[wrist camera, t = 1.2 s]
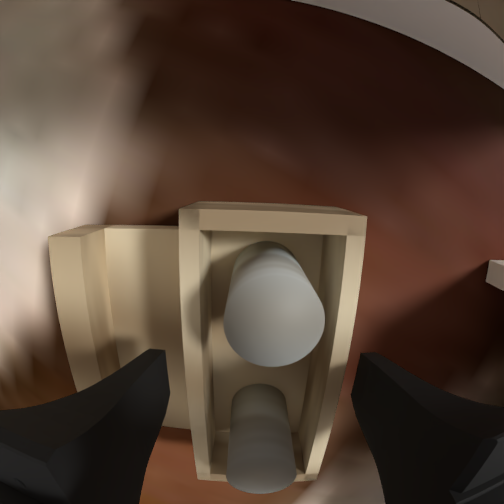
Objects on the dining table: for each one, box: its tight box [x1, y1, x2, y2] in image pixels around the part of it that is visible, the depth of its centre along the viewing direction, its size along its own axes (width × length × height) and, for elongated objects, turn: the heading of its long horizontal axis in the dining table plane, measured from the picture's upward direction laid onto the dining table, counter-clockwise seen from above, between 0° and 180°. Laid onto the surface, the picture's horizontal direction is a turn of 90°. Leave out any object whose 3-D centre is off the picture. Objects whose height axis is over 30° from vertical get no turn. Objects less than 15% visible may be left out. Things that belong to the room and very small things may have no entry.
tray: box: [48, 201, 367, 494], centre depth 11 cm, size 12×11×5 cm
